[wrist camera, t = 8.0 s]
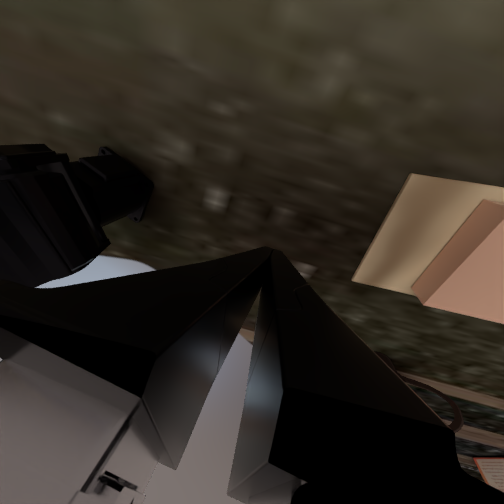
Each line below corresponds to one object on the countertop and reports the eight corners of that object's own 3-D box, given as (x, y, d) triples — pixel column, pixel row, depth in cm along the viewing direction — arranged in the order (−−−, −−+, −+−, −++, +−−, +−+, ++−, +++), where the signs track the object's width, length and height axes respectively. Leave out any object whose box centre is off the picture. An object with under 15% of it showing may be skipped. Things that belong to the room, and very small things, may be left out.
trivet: (351, 278, 22) (352, 280, 22) (410, 172, 16) (412, 173, 15) (523, 318, 20) (527, 321, 20) (677, 214, 13) (687, 216, 13)
